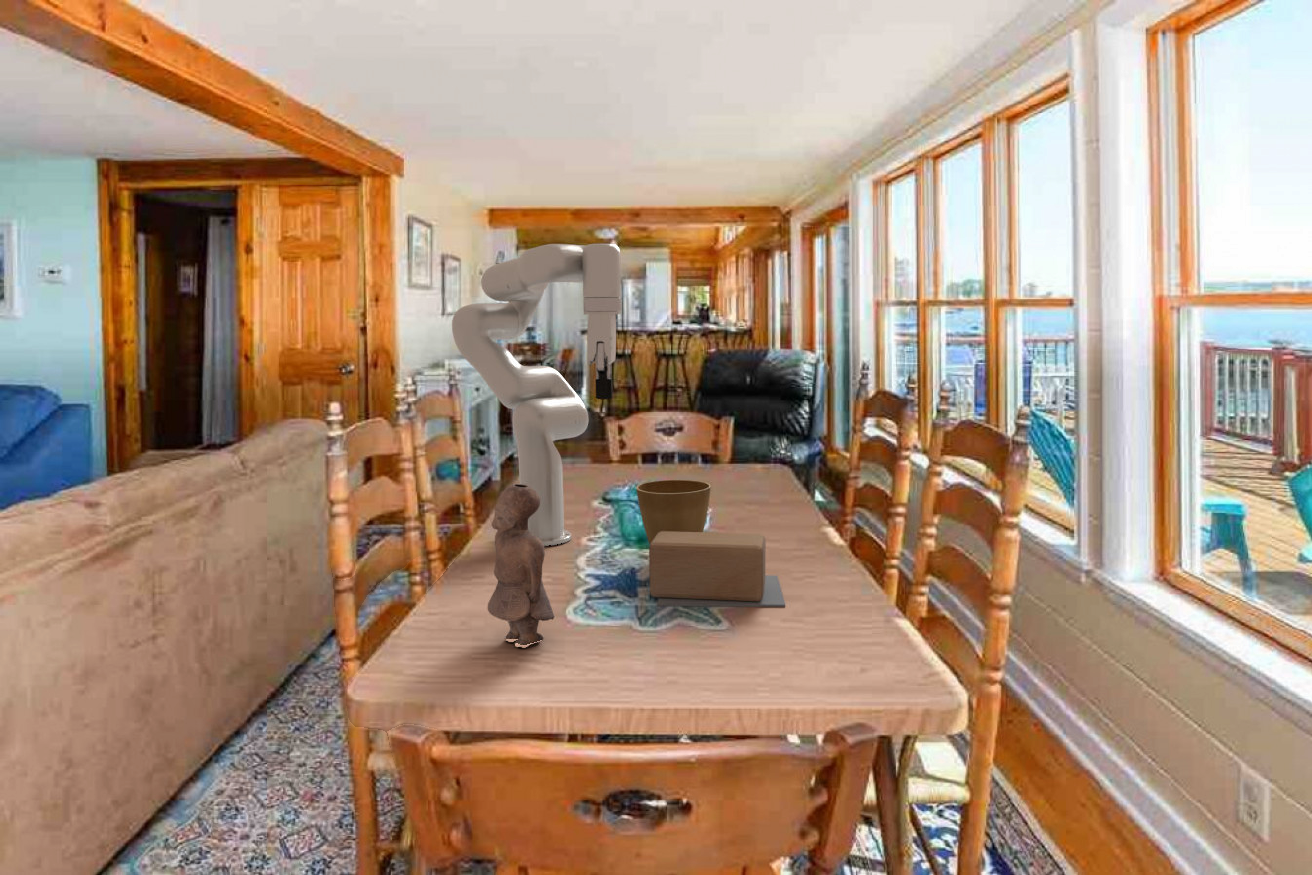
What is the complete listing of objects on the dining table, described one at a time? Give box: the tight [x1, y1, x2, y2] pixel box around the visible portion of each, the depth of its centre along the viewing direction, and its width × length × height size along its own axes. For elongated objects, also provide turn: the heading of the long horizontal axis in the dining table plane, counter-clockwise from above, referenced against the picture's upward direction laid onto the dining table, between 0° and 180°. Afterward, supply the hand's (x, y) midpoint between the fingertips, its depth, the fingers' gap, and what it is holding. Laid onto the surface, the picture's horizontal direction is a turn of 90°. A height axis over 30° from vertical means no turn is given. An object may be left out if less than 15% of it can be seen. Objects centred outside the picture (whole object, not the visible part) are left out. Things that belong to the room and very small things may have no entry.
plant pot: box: [635, 479, 712, 545], centre depth 181 cm, size 15×15×16 cm
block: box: [648, 531, 767, 601], centre depth 162 cm, size 10×10×20 cm
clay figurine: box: [486, 483, 555, 645], centre depth 138 cm, size 13×10×25 cm
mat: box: [657, 574, 786, 608], centre depth 164 cm, size 22×17×1 cm
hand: (604, 398), depth 182 cm, fingers closed
